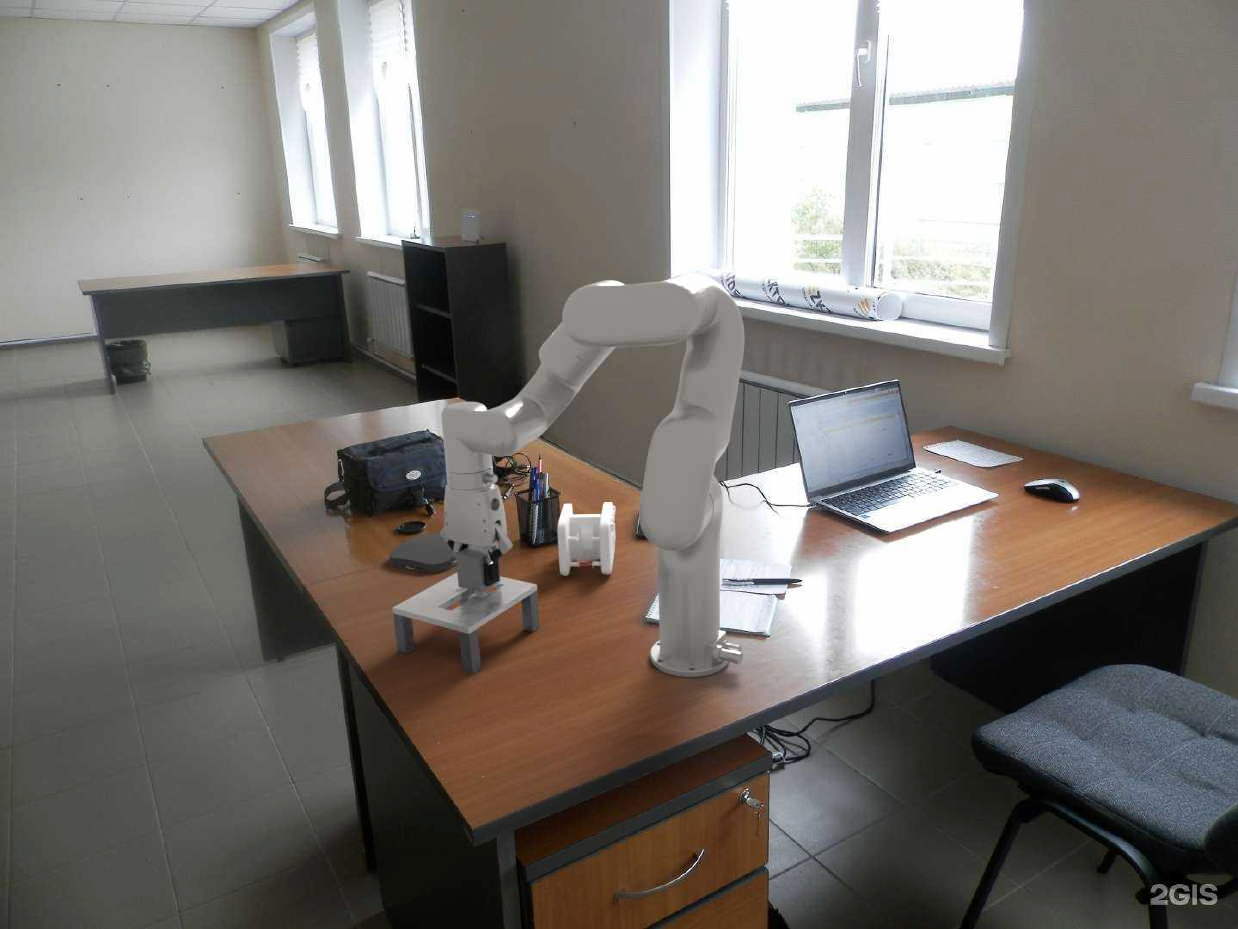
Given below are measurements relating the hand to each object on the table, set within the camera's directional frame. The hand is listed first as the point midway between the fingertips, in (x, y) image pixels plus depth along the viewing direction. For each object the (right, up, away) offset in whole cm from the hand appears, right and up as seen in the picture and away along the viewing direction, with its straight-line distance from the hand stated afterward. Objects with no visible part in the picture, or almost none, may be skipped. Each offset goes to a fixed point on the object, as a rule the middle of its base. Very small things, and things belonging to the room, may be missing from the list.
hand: (479, 579), depth 152 cm
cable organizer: (+18, -1, +29) cm, 34 cm away
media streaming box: (-15, -1, +36) cm, 39 cm away
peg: (0, -4, +1) cm, 4 cm away
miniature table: (-1, -10, 0) cm, 10 cm away
